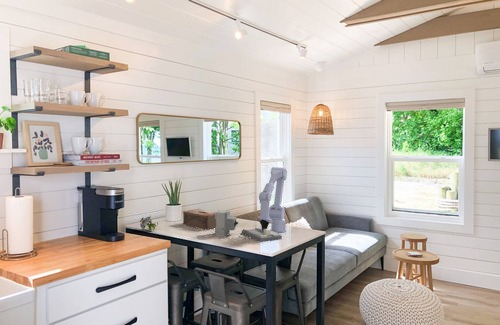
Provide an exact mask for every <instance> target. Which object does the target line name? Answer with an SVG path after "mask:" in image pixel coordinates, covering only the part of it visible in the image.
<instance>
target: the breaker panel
mask: <svg viewBox="0 0 500 325" xmlns="http://www.w3.org/2000/svg"><path fill="white" fill-rule="evenodd" d="M241 234H243V235H245V236H246V237H249V238H252V239H254V240H255V241H257V242H259V243H260V242H261V243H262V242H268V241H274V240H275V241H276V240H281V239H282V238H283V236H282V234H280V233H276V232H273V231H270V235H269V236H267V235H264V232H263V231H262V227H261V226H255V227H254V228H249V227H247V228H242V229H241Z"/></svg>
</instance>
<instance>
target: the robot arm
mask: <svg viewBox="0 0 500 325" xmlns="http://www.w3.org/2000/svg"><path fill="white" fill-rule="evenodd" d="M287 174H288V170H287V168H286V167H279V166H278V167H275V166H272V167H271V169H270V177H269V180H268V183H266V184H265V185H264V188H263V190H262V191H261V192H259V194H258V200H259V204H260V207H259V208H260V214H259V215H257V219H259V220H258V221H259V223H260V227H262V231H263V232H264V229H268V227H269V224H270V223H271V224H270V225H271V226H270V228H271V229H270V230H271V231H273V232H276V233H278V234H280V233H286V232H287V230H286V229H287V226H286V225H287V224H286V222H287V220H285V215H286V211H285V209H286V208H285V207H284V205H282V201H283V192H284V185H285V181H286V180H287V176H288V175H287ZM275 183H276V185H275ZM275 186H276V187H275ZM274 188H275V192H274V200H273V204H272V205H270V201H271V200H272V195H273V194H272V193H273V191H274Z"/></svg>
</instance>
